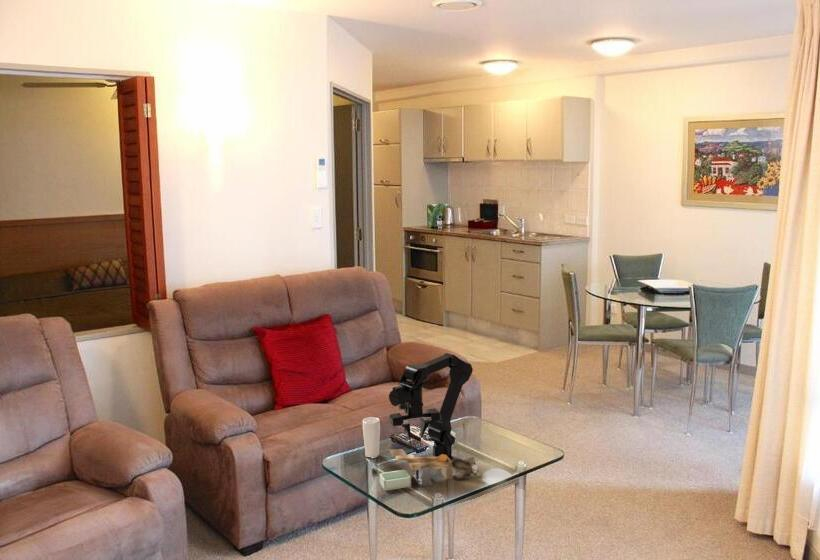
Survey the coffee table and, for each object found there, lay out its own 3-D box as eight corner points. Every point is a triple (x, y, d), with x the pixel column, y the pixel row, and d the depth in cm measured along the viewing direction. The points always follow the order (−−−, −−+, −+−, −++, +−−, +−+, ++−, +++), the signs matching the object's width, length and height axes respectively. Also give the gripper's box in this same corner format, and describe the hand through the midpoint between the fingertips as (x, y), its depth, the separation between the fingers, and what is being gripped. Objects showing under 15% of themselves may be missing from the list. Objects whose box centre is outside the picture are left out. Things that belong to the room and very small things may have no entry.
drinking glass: (373, 461, 283) (372, 424, 280) (359, 456, 287) (358, 420, 284) (384, 455, 289) (383, 419, 286) (371, 450, 293) (370, 415, 290)
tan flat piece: (438, 452, 279) (438, 446, 279) (451, 468, 266) (451, 461, 266) (389, 454, 273) (389, 448, 273) (400, 470, 260) (400, 463, 260)
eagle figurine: (470, 466, 275) (448, 465, 272) (477, 455, 271) (455, 454, 268) (475, 484, 270) (452, 483, 267) (482, 473, 265) (459, 472, 263)
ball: (444, 461, 270) (445, 452, 270) (447, 464, 267) (448, 456, 267) (436, 460, 269) (437, 452, 269) (439, 464, 266) (440, 456, 266)
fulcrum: (446, 470, 274) (446, 453, 273) (454, 481, 266) (454, 463, 265) (412, 475, 271) (412, 458, 269) (420, 486, 262) (419, 468, 261)
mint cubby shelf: (405, 478, 269) (405, 469, 268) (411, 486, 262) (411, 477, 262) (379, 482, 266) (379, 473, 265) (384, 490, 259) (384, 481, 259)
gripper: (431, 389, 282) (431, 427, 285) (384, 394, 276) (385, 433, 279) (441, 398, 271) (441, 438, 274) (392, 404, 266) (393, 445, 269)
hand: (415, 438), depth 274 cm, fingers open, 4 cm apart
